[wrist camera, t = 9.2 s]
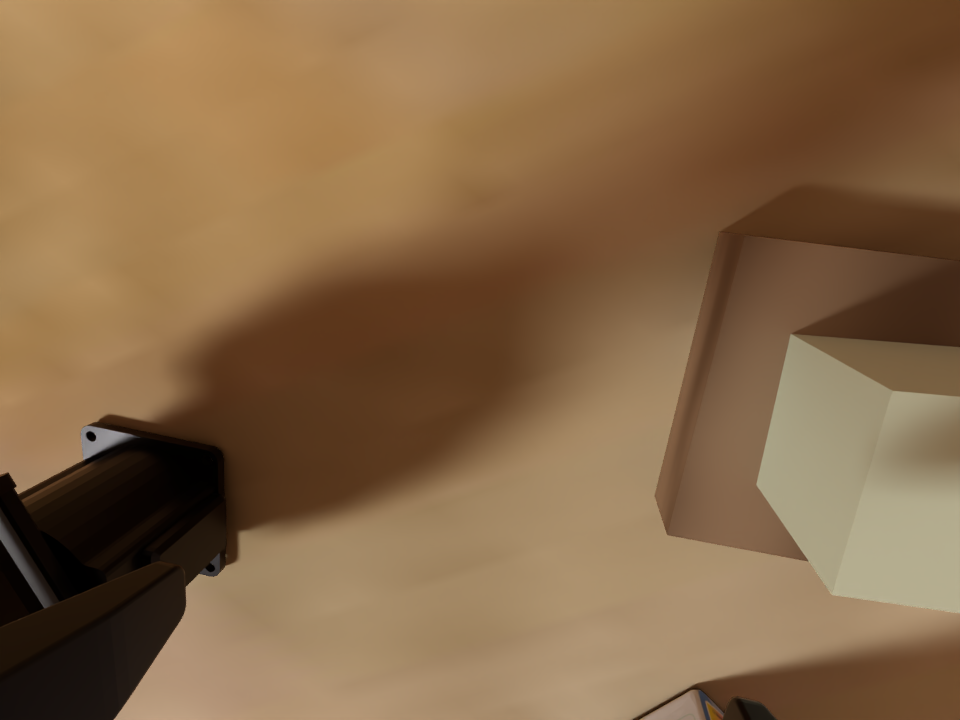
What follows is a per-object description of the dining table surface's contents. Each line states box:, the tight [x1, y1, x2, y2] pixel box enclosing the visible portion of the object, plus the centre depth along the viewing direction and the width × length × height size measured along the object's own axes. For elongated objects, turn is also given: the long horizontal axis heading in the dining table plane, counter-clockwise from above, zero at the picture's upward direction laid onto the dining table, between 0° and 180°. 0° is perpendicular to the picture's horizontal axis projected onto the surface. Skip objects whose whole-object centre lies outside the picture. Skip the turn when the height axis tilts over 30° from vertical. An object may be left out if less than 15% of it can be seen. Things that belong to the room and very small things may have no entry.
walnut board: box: [655, 232, 960, 561], centre depth 17 cm, size 10×10×3 cm
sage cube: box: [756, 334, 960, 613], centre depth 13 cm, size 5×5×5 cm
